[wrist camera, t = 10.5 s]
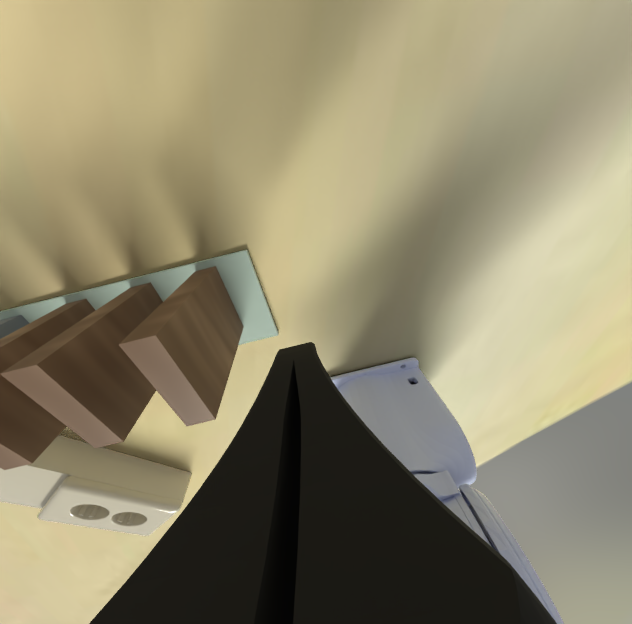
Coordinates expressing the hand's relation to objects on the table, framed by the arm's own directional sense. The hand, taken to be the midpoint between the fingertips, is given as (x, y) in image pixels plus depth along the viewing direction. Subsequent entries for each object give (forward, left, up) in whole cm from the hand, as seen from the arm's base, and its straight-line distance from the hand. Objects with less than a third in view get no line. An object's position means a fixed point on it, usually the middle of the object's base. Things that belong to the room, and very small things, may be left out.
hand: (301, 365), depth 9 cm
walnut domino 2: (+10, 0, -9) cm, 13 cm away
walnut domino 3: (+5, 0, -9) cm, 10 cm away
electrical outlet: (+26, +15, -10) cm, 31 cm away
